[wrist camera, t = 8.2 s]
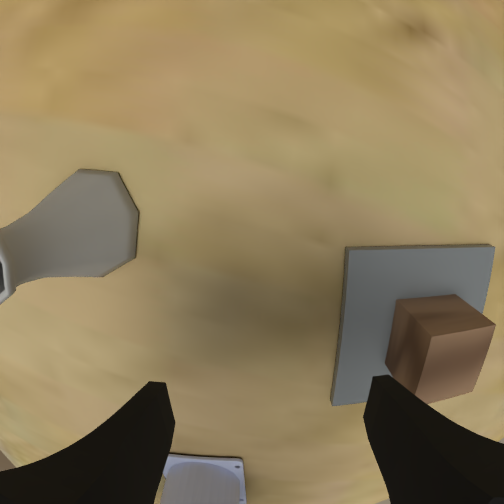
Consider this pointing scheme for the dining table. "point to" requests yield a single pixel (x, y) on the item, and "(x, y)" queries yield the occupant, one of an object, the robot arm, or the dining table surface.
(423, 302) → the walnut cube
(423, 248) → the coaster
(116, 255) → the flask
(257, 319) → the dining table surface
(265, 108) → the dining table surface
